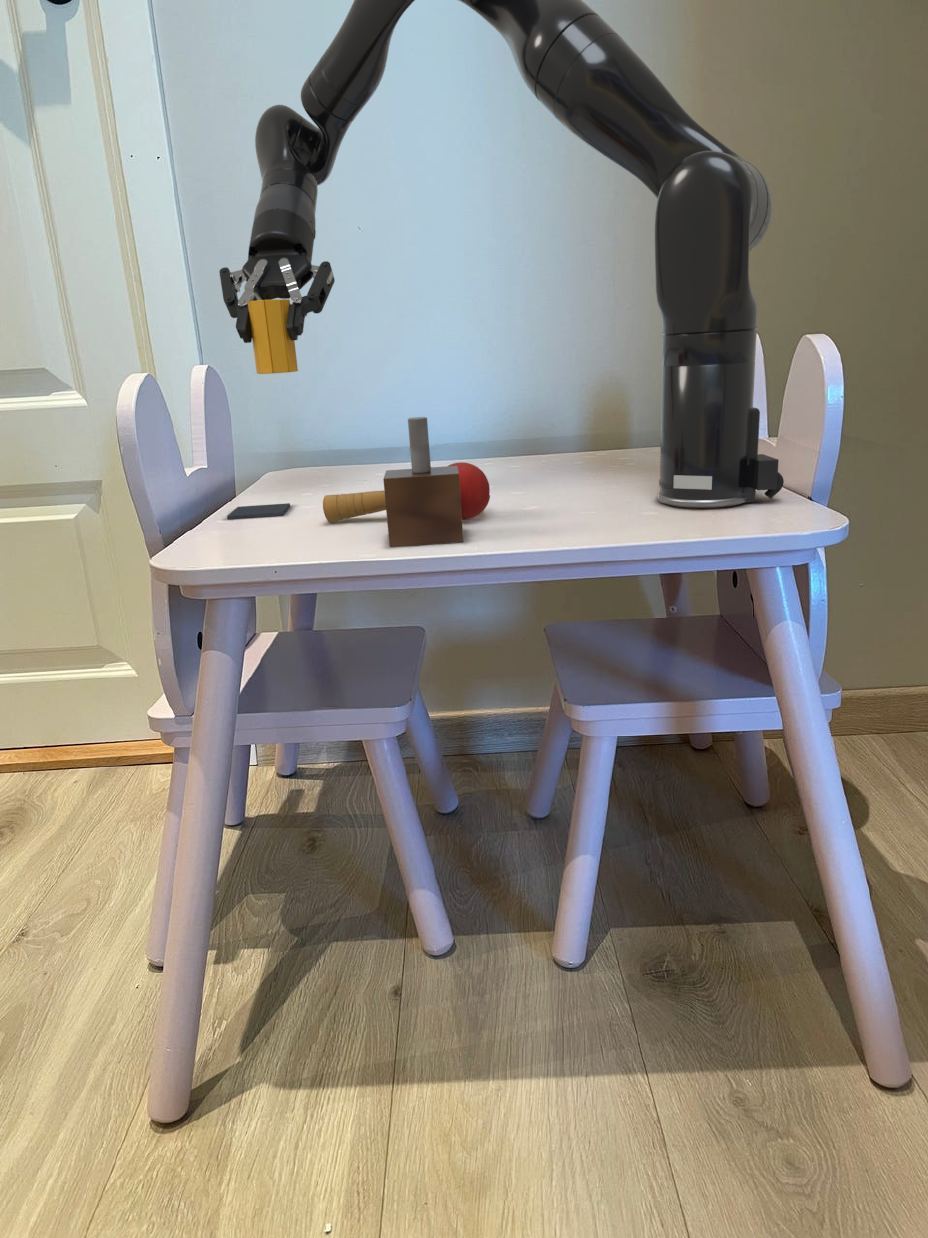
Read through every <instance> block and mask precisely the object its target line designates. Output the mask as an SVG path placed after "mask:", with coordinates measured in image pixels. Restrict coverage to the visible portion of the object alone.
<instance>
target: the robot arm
mask: <svg viewBox="0 0 928 1238" xmlns="http://www.w3.org/2000/svg"><path fill="white" fill-rule="evenodd" d="M415 1H416V0H353V2H352V4H351V7H350V9H349V11H348V12H347V15H346V16H345V18H344V20H343V22H342V24H341V26H340V28H339V30H338V31H337V32H336V34H335V36H334V38H333V39H332V41H331V43H330V44H329V46H328V47H327V48H326V49H325V51H324V52H323V54H322V55H321V57H320V58H319V60H318V62H317V63H316V65H314V67H313V69H312V70H311V72H310V73H309V75H308V76H307V78H306V80H305V81H304V82H303V84H302V87H301V89H300V102H301V104H302V107H303V109H304V111H305V113H306V115H308V117H309V118H310V120H311V121H312V122H313V123H314V124H313V123H312V122H310V121H309V120H308V119H306V118H305V117H304V116H302V115H301V114H300V113H298V112H297V111H296V110H294V109H293V108H291V107H290V106H288V105H284V104H275V105H272V106H270V107H268V108H267V109H266V110H265V111H264V112H263V113H262V114H261V116H260V117H259V120H258V123H257V126H256V129H255V136H254V137H255V138H254V146H255V147H254V149H255V154H256V160H257V164H258V169H259V174H260V180H261V186H260V187H261V188H260V192H259V193H260V194H259V199H258V202H257V205H256V206H255V211H254V215H253V223H252V228H251V234H250V238H249V245H248V254H247V260H246V262H245V263H244V264H243V266H242V268H241V269H239V270H235V271H230V268H229V267H227V266H226V267H222V268H220V269H219V271H218V272H219V279H220V286H221V293H222V298H223V302H224V305H225V306H226V309H227V311H228V313H229V316H230V317H231V318H232V319H236V322H235V329H236V332H237V334H238V336H239V338H240V339H242V340H243V343H244V344H250V343H252V342H253V340H252V333H251V325H250V318H249V310H248V302H249V301H256V300H274V299H289V300H290V301H291V302H292V303H290V304H289V311H288V319H287V332H288V335H289V337H290V340H291V341H292V340H294V341H298V339H299V336H300V337H301V336H302V334H303V333H304V327H305V319H306V317H307V316H308V314H310V313H313V314H321V312H322V311H323V309H324V307H325V304H326V303H327V300H328V298H329V296H330V293H331V290H332V288H333V286H334V284H335V282H336V281H335V277H334V272H333V268H332V265H331V263H330V262H329V261H328V260H327V261H326V260H324V261H322V262H321V263H320V264H319V265H314V264H312V260H313V253H314V244H315V239H316V235H317V233H316V232H317V231H316V227H317V226H316V224H317V223H316V221H317V220H316V211H317V203H318V195H319V194H318V193H319V186H321V185H323V184H324V183H325V182H327V180H328V179H329V177H330V176H331V174H332V171H333V169H334V166H335V163H336V159H337V156H338V154H339V150H340V148H341V145H342V143H343V140H344V138H345V136H346V134H347V132H348V130H349V128H350V126H351V125H352V123H353V122H354V121H355V120H356V118H357V117H358V115H359V114H360V113H361V111H363V109H364V108H365V106H366V105H367V103H368V102H369V101H370V100H371V99H372V97H373V96H374V94H375V93H376V91H377V89H378V87H379V85H380V83H381V81H382V79H383V76H384V74H385V71H386V67H387V62H388V57H389V50H390V45H391V41H392V38H393V37H392V36H393V34H394V31H395V28H396V27H397V25H398V23H399V21H400V19H401V18H402V16H403V15H404V13H405V12H406V11H407V10H408V8H410V6H411V5H412V4H414V2H415ZM457 1H459V2H460V3H462V4H463V5H465V6H467V7H468V8H470V9H471V10H472V11H474V12H475V13H476V14H478V15H479V16H480V17H482V19H483V20H485V21H486V23H488V24H489V25H490V26H491V27H493V29H495V30H496V31H497V32H498V33H499V34H500V36H501V37H502V38H503V40H504V41H505V42H506V44H507V45H508V48H509V50H510V52H511V55H512V58H513V60H514V63H515V66H516V68H517V70H518V73H519V75H520V76H521V79H522V81H523V83H524V84H525V85H526V87H527V88H528V90H529V91H530V92H531V93H532V94H533V96H534V97H535V98H536V99H537V100H538V102H540V103H541V105H542V106H543V107H544V108H545V109H546V110H547V111H548V112H549V113H550V114H551V115H552V116H553V117H554V118H555V119H556V121H558V122H559V123H560V125H562V126H563V127H564V128H566V129H567V130H568V132H570V133H571V134H572V135H574V136H575V137H576V138H578V139H579V140H581V141H582V142H583V143H585V144H586V145H587V146H589V147H590V148H591V149H593V150H594V151H596V152H597V153H598V154H600V155H602V156H603V157H604V158H606V159H608V160H609V161H611V162H612V163H614V164H615V165H617V166H619V167H621V168H622V169H623V170H625V171H626V172H628V173H629V174H631V175H632V176H634V177H635V178H636V179H637V180H638V181H640V183H641V184H643V185H644V186H645V187H646V189H647V190H648V191H650V192H651V194H653V196H654V197H655V198H656V199H657V201H656V205H655V211H654V212H655V213H654V277H655V299H656V303H657V307H658V310H659V313H660V316H661V321H662V323H661V325H662V326H661V327H662V329H661V331H662V333H661V334H662V335H661V336H662V337H661V344H662V345H661V392H660V393H661V394H660V397H661V398H660V399H661V401H660V405H661V406H660V453H659V454H660V455H659V456H660V457H659V458H660V459H659V460H660V461H659V469H660V470H659V491H658V501H659V502H660V503H662V504H665V505H668V506H673V507H679V508H680V507H681V508H693V509H695V508H696V509H697V508H698V509H709V508H710V509H711V508H713V509H714V508H725V507H733V506H739V505H742V504H744V503H754V502H756V494H757V492H756V491H765V492H764V495H765V496H766V497H767V498H769V499H773V498H774V497H775V496H776V495H777V494H778V493H779V492H781V490H782V488H783V487H784V483H785V482H784V481H785V480H784V477H783V475H782V474H781V473H780V472H779V462H780V461H779V459H778V458H775V457H772V456H769V455H767V454H764V453H759V441H760V440H759V438H760V422H761V421H760V418H761V411H760V409H759V408H758V407H754V392H755V390H754V389H755V373H756V351H757V333H758V332H757V331H758V330H757V329H758V319H759V318H758V317H759V305H758V302H757V299H756V297H755V295H754V293H753V289H752V287H751V281H750V252H751V251H752V250H753V249H755V248H756V247H757V246H758V245H759V244H761V242H762V240H763V239H764V238H765V236H766V235H767V232H768V230H769V228H770V225H771V222H772V219H773V218H772V217H773V211H774V208H773V207H774V204H773V195H772V192H771V188H770V185H769V183H768V181H767V179H766V177H765V176H764V175H765V174H763V173H762V172H761V171H760V169H759V168H758V167H757V166H755V165H754V164H753V163H751V162H750V161H748V160H746V159H745V158H744V157H742V156H741V155H739V154H738V153H737V152H735V151H733V149H731V148H730V147H728V146H727V145H725V144H724V143H723V142H722V141H720V140H719V139H718V138H717V137H715V136H714V135H713V134H711V133H710V132H709V131H708V130H706V129H705V128H704V127H703V126H702V125H701V124H699V123H698V122H697V121H696V120H695V119H694V118H692V116H691V115H689V113H688V112H686V110H685V109H684V108H683V107H682V106H681V104H680V103H679V102H678V100H676V98H675V97H674V96H673V94H671V92H670V91H669V90H668V89H667V87H666V86H665V85H664V83H663V82H662V81H661V80H660V79H659V77H657V75H656V74H655V72H653V70H651V68H649V67H650V66H648V65H647V64H646V62H644V60H642V58H641V57H640V56H639V55H638V54H637V53H636V52H635V51H634V49H633V48H632V47H631V46H630V45H629V44H628V43H627V42H626V41H625V40H624V38H622V36H621V35H620V34H619V33H618V32H617V31H615V30H614V28H613V27H611V26H610V25H609V24H608V23H607V22H606V21H605V20H604V18H603V17H602V16H600V15H599V14H598V13H597V12H596V11H595V10H594V9H593V8H591V7H590V6H589V5H588V4H587V3H586V2H585V1H583V0H457ZM311 280H312V282H311V284H310V287H309V289H308V291H307V294H306V295H304V296H302V294H301V291H300V290H302V289H303V287H305V286H306V285H307V284H308V283H309V282H310V281H311ZM244 282H245V284H244V291H243V293H242V294H241V296H240V297H238V293H241V289H240V288H241V287H242V284H243V283H244Z"/></svg>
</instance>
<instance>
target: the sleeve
mask: <svg viewBox="0 0 928 1238" xmlns="http://www.w3.org/2000/svg"><path fill="white" fill-rule="evenodd" d="M289 304H291V299H290V298H289V299H282V298H275V299H271V300H256V301H249V302H248V310H249V318H250V325H251V333H252V347H253V354H254V364H255V369H256V374H258V375H269V374H283V373H296V372H298V371H299V369H298V360H297V351H296V343H295V341H296V340H292V341H291V340H290V337H289V335H288V332H287V319H288V311H289Z"/></svg>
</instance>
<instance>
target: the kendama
mask: <svg viewBox="0 0 928 1238" xmlns="http://www.w3.org/2000/svg"><path fill="white" fill-rule="evenodd" d="M448 466H458V471H459V479H460V495H461V511H462V521H465V520H470V519H473V518H476V517H477V516H479V515H481V514H482V513H483V512H484V511H485V510H486V508H487V507H488V504H489V502H490V499H491V494H490V493H491V491H490V490H491V487H490V483H489V479H488V477H487V475H486V474H485V473H484V471H483V470H482V469H480V468H479V467H478V466H477V465H474V464H472V463H469V462H463V461H462V462H461V461H459V462H455V463H454V462H453V463H451V464H449V465H448ZM322 510H323V513H324V517H325V519H326V521H327V522H328V523H335V522H340V521H344V520H348V519H351V518H356V517H361V516H367V515H370V514H374V513H375V514H376V513H380V512H383V511H384V512H385V511H386V503H385V492H384V490H371V491H364V492H354V493H353V492H351V493H343V494H342V493H341V494H327V495H324V497H323V499H322Z"/></svg>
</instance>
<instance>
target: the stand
mask: <svg viewBox="0 0 928 1238" xmlns="http://www.w3.org/2000/svg"><path fill="white" fill-rule="evenodd" d="M407 427H408V438H409V451H410V465H411V468H403V469H402V468H399V469H387V470H385V472H384V475H383V491H384V492H385V503H386V510H385V511H386V512H385V513H386V523H387V534H388V535H387V536H388V546H389V548H396V547H410V546H411V547H412V546H428V545H440V544H454V543H456V544H457V543H464V529H463V528H464V527H463V520H462V511H461V495H460V479H459V471H458V466H449V465H445V466H431V454H430V453H431V452H430V440H429V439H430V438H429V425H428V417H426V416H414V417H409V418H407Z"/></svg>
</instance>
